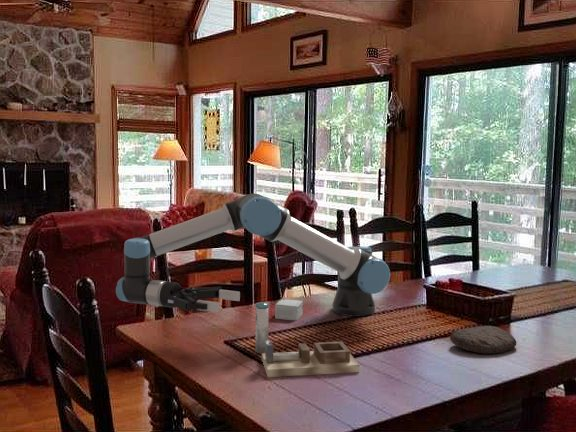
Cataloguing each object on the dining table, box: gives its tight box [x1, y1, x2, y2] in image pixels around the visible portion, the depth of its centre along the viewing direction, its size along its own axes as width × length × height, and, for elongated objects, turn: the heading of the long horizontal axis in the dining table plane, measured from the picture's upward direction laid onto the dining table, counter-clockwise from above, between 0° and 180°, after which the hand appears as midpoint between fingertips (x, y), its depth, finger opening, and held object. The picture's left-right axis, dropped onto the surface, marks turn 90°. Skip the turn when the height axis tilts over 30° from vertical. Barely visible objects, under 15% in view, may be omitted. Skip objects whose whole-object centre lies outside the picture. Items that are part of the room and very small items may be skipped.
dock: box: [261, 341, 360, 378], centre depth 161 cm, size 24×12×5 cm, turn 100°
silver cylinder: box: [255, 301, 270, 354], centre depth 172 cm, size 4×4×14 cm
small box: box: [274, 298, 304, 321], centre depth 208 cm, size 8×8×5 cm
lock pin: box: [265, 340, 299, 363], centre depth 160 cm, size 9×4×5 cm, turn 100°
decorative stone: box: [449, 325, 517, 355], centre depth 178 cm, size 20×14×5 cm
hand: (229, 301), depth 174 cm, fingers open, 13 cm apart
